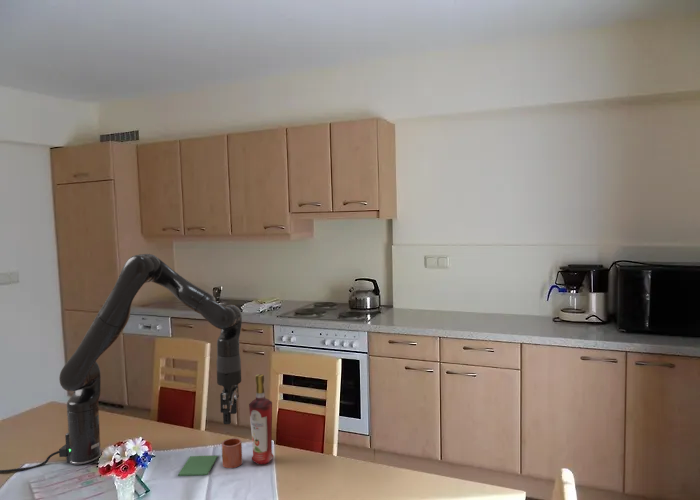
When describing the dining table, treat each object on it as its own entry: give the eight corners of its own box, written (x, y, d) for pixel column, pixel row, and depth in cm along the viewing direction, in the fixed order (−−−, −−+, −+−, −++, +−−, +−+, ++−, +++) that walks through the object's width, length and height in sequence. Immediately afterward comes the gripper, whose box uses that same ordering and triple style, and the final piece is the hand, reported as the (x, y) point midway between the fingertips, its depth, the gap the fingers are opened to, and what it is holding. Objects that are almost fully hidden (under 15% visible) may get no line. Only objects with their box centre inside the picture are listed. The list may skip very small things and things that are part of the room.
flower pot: (220, 468, 156) (219, 446, 155) (225, 459, 162) (224, 438, 162) (240, 468, 156) (239, 446, 155) (244, 458, 162) (243, 437, 162)
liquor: (246, 464, 158) (243, 377, 157) (258, 454, 165) (255, 371, 163) (267, 468, 155) (263, 379, 154) (278, 457, 162) (275, 373, 161)
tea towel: (178, 476, 152) (178, 474, 152) (190, 458, 164) (190, 456, 164) (207, 475, 152) (207, 473, 152) (217, 457, 164) (217, 455, 164)
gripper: (222, 362, 165) (224, 410, 165) (211, 375, 150) (212, 427, 151) (245, 362, 165) (246, 410, 165) (235, 374, 150) (237, 427, 151)
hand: (230, 418), depth 158 cm, fingers open, 8 cm apart
